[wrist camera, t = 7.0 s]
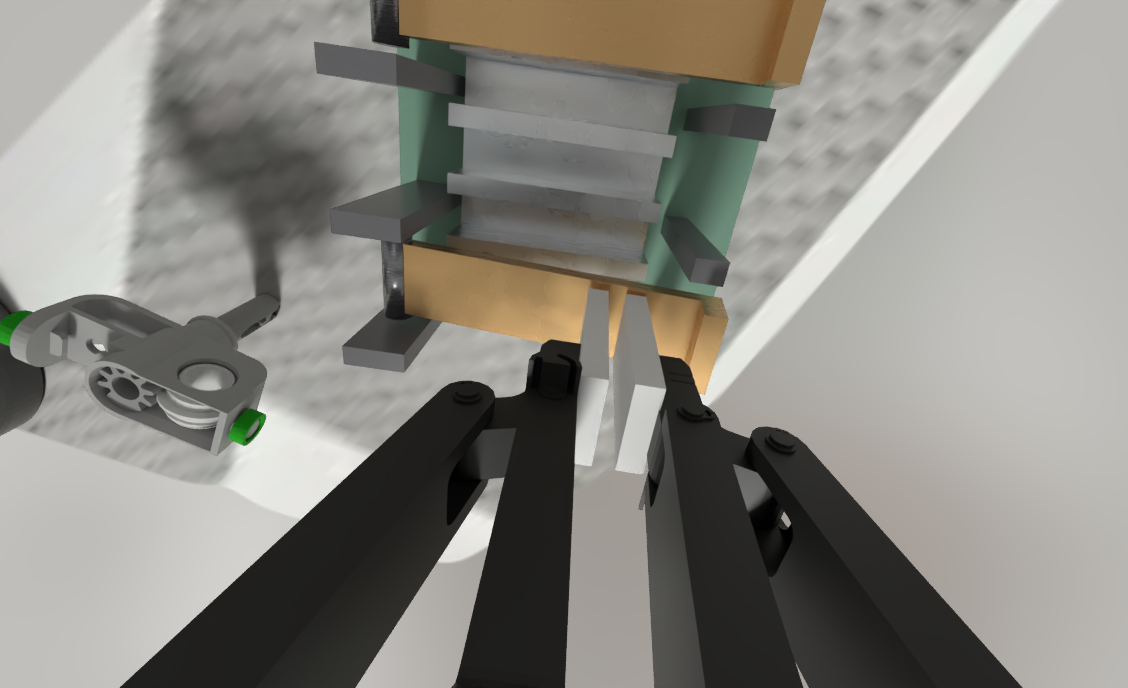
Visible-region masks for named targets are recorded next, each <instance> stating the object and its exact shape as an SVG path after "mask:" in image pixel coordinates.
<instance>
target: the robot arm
mask: <svg viewBox="0 0 1128 688" xmlns="http://www.w3.org/2000/svg"><path fill="white" fill-rule="evenodd" d="M8 315H10V314H9V313H8V312H7V311H6V309H5V308H4V307H3V306H2V305H1V304H0V322H1V321H2V320H3V319H4V318H6V317H7V316H8ZM608 383H609V291H605V290H598V289H592V288H588V294H587V300H586V306H585V312H584V318H583V324H582V330H581V336H580V342H579V343H573V342H566V341H560V340H553V339H550V340H548V341H547V342H546V343H544V344H543V345H542V347H541V350H540V352H538V353H536V354H534V355H532V356H531V358H530V359H529V365H528V374H527V383H526V390H525V392H523V393H521V394H519V395H516V396H512V397H503V398H495V395H494V391H493V390H492V389H491V388H490V387H489V386H487V385H485V384H482V383H480V382H474V381H458V382H454V383H451V384H449V385H447V386H445V387H444V388H442V389H441V390H440V391H439V392H438V393H437V394H436V395H435V396H434V397H433V398H432V399H430V400H429V401H428V402H427V403H426V404H425V405H424V406H423V407H422V408H421V409H420V410H419V411H417V412H416V413H415V414H414V415H413V416H412V417H411V418H410V419H409V420H408V421H407V422H406V423H405V424H403V425H402V426H401V427H400V428H399V429H398V430H397V431H396V432H395V433H394V434H393V435H392V436H391V437H389V438H388V439H387V440H386V441H385V442H384V443H383V444H382V445H381V446H380V447H379V448H378V449H377V450H375V451H374V452H373V453H372V454H371V455H370V456H369V457H368V458H367V459H366V460H365V461H364V462H362V463H361V464H360V465H359V466H358V467H357V468H356V469H355V470H354V471H353V472H352V473H351V474H350V475H348V476H347V477H346V478H345V479H344V480H343V481H342V482H341V483H340V484H339V485H338V486H337V487H336V488H334V489H333V490H332V491H331V492H330V493H329V494H328V495H327V496H326V497H325V498H324V499H323V500H322V501H320V502H319V503H318V504H317V505H316V506H315V507H314V508H313V509H312V510H311V511H310V512H309V513H307V514H306V515H305V516H304V517H303V518H302V519H301V520H300V521H299V522H298V523H297V524H296V525H295V526H293V527H292V528H291V529H290V530H289V531H288V532H287V533H286V534H285V535H284V536H283V537H282V538H281V539H279V540H278V541H277V542H276V543H275V544H274V545H273V546H272V547H271V548H270V549H269V550H268V551H267V552H265V553H264V554H263V555H262V556H261V557H260V558H259V559H258V560H257V561H256V562H255V563H254V564H253V565H252V566H250V567H249V568H248V569H247V570H246V571H245V572H244V573H243V574H242V575H241V576H240V577H239V578H237V579H236V580H235V581H234V582H233V583H232V584H231V585H230V586H229V587H228V588H227V589H226V590H224V591H223V592H222V593H221V594H220V595H219V596H218V597H217V598H216V599H215V600H214V601H213V602H212V603H210V604H209V605H208V606H207V607H206V608H205V609H204V610H203V611H202V612H201V613H200V614H199V615H198V616H196V617H195V618H194V619H193V620H192V621H191V622H190V623H189V624H188V625H187V626H186V627H185V628H183V629H182V630H181V631H180V632H179V633H178V634H177V635H176V636H175V637H174V638H173V639H172V640H171V641H169V642H168V643H167V644H166V645H165V646H164V647H163V648H162V649H161V650H160V651H159V652H158V653H157V654H155V656H153V657H152V658H151V659H150V660H149V661H148V662H147V663H146V664H145V665H144V666H143V667H141V668H140V669H139V670H138V671H137V672H136V673H135V674H134V675H133V676H132V677H131V678H130V679H129V680H127V681H126V682H125V683H124V684H123V685H122V686H121V687H120V688H355V687H356V686H357V684H358V683H359V681H360V680H361V678H362V677H363V675H364V674H365V672H366V670H367V669H368V667H369V666H370V664H371V663H372V661H373V660H374V658H375V657H376V655H377V653H378V652H379V650H380V649H381V647H382V646H383V644H384V643H385V641H386V640H387V638H388V637H389V635H390V634H391V632H392V630H393V629H394V627H395V626H396V624H397V622H398V621H399V620H400V618H401V617H402V615H403V614H404V612H405V610H406V609H407V607H408V606H409V604H410V603H411V601H412V600H413V598H414V596H415V595H416V594H417V592H418V590H419V589H420V587H421V586H422V584H423V583H424V581H425V580H426V578H427V577H428V575H429V573H430V572H431V570H432V569H433V567H434V566H435V564H436V563H437V561H438V560H439V558H440V557H441V555H442V554H443V552H444V551H445V549H446V547H447V546H448V544H449V543H450V541H451V540H452V538H453V537H454V535H455V534H456V532H457V531H458V529H459V527H460V526H461V524H462V523H463V521H464V520H465V518H466V517H467V515H468V514H469V512H470V511H471V509H472V507H473V506H474V504H475V503H476V501H477V500H478V498H479V497H480V495H481V494H482V492H483V491H484V489H485V487H486V486H487V483H488V480H489V479H492V478H503V477H505V478H504V483H503V487H502V491H501V495H500V500H499V504H498V508H497V512H496V516H495V521H494V525H493V529H492V533H491V538H490V542H489V546H488V550H487V555H486V559H485V563H484V567H483V571H482V576H481V580H480V584H479V589H478V593H477V597H476V601H475V605H474V610H473V614H472V618H471V622H470V626H469V631H468V635H467V640H466V643H465V648H464V652H463V656H462V660H461V664H460V668H459V672H458V676H457V679H456V683H455V684H454V685H453V686H452V688H565V670H566V648H567V625H568V601H569V579H570V557H571V533H572V510H573V488H574V465H575V464H580V465H586V466H592V461H593V456H594V451H595V446H596V442H597V437H598V432H599V427H600V422H601V417H602V412H603V407H604V402H605V398H606V393H607V388H608ZM613 383H614V432H615V470H617V471H623V472H630V473H636V474H642V475H643V473H644V470H645V466H646V462H647V461H648V469H649V471H648V475H647V479H646V482H645V486H644V490H643V493H642V497H641V500H640V504H639V508H638V509H640V510H643V506H644V504H645V513H646V533H647V552H648V572H649V591H650V611H651V630H652V650H653V670H654V688H803V685H802V682H801V679H800V676H799V673H798V670H797V667H796V664H797V665H798V668H799V670H800V671H801V673H802V675H803V677H804V679H805V681H806V683H807V685H808V687H809V688H1022V687H1021V686H1020V685H1019V683H1018V682H1017V681H1016V680H1015V679H1014V678H1013V677H1012V675H1011V674H1010V673H1009V672H1008V671H1007V670H1006V669H1005V668H1004V666H1003V665H1002V664H1001V663H1000V662H999V661H998V660H997V659H996V657H994V655H993V654H992V653H991V652H990V651H989V650H988V649H987V647H985V645H984V644H983V643H982V642H981V641H980V640H979V638H978V637H977V636H976V635H975V634H974V633H973V632H972V631H971V629H969V627H968V626H967V625H966V624H965V623H964V622H963V621H962V619H961V618H960V617H959V616H958V615H957V614H956V613H955V612H954V610H953V609H952V608H951V607H950V606H949V605H948V604H947V603H946V602H945V600H944V599H943V598H942V597H941V596H940V595H939V594H938V593H937V592H936V590H935V589H934V588H933V587H932V586H931V585H930V584H929V582H927V580H926V579H925V578H924V577H923V576H922V575H921V574H920V572H919V571H918V570H917V569H916V568H915V567H914V566H913V565H912V564H911V562H910V561H909V560H908V559H907V558H906V557H905V556H904V555H903V553H902V552H901V551H900V550H899V549H898V548H897V547H896V545H895V544H894V543H893V542H892V541H891V540H890V539H889V538H888V537H887V536H886V534H884V532H883V531H882V530H881V529H880V528H879V526H877V524H876V523H875V522H874V521H873V520H872V519H871V518H870V516H869V515H868V514H867V513H866V512H865V511H864V510H863V509H862V507H861V506H860V505H859V504H858V503H857V502H856V501H855V500H854V498H853V497H852V496H851V495H850V494H849V493H848V492H847V491H846V489H844V487H843V486H842V485H841V484H840V483H839V482H838V481H837V479H836V478H835V477H834V476H833V475H832V474H831V473H830V472H829V470H828V469H827V468H826V467H825V466H824V465H823V464H822V463H821V461H820V460H819V459H818V458H817V457H816V456H815V455H814V454H813V453H812V451H811V450H810V449H809V448H808V447H807V446H806V445H805V444H804V443H803V442H802V441H801V440H799V439H798V438H797V437H795V436H793V435H792V434H790V433H789V432H787V431H784V430H781V429H778V428H772V427H758V428H756V429H755V430H753V431H752V434H751V437H750V438H747V437H744V436H741V435H738V434H735V433H733V432H730V431H727V430H725V429H723V428H722V427H721V425H720V422H719V419H718V417H717V415H716V414H715V412H713V411H712V410H711V409H710V408H708V407H707V406H705V405H703V404H702V401H701V398H700V395H699V392H698V389H697V386H696V385H695V380H694V378H693V374H692V371H691V368H690V367H689V366H688V365H687V364H686V363H685V362H684V361H683V360H682V359H681V358H676V357H669V356H663V355H659V353H658V348H657V344H656V339H655V335H654V330H653V325H652V321H651V316H650V312H649V307H648V302H647V298H646V297H644V296H637V295H631V294H626V297H625V301H624V306H623V311H622V316H621V321H620V326H619V331H618V336H617V341H616V346H615V351H614V355H613ZM42 396H43V378H42V373H41V369H40V367H35V366H33V365H30V364H28V363H25V362H23V361H21V360H18V359H16V358H15V357H13V356H12V354H11V351H10V347H9V346H7V345H5V344H2V343H0V436H1V435H3V434H5V433H7V432H9V431H11V430H13V429H14V428H16V427H18V426H20V425H22V424H24V423H25V422H27V421H28V420H29V419H30V418H32V416H33V415H34V414H35V413H36V411H37V410H38V408H39V406H40V404H41V401H42ZM783 512H785V513H786V515H787V516H788V518H789V520H790V522H791V525H790V526H789V527H787V526H786V525H785V524H784V522H783V521H782V519H781V517H782V515H783ZM795 662H796V663H795Z"/></svg>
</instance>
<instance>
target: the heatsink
mask: <svg viewBox="0 0 1128 688" xmlns="http://www.w3.org/2000/svg"><path fill="white" fill-rule="evenodd" d="M450 49H452V50H454V51H456V52H458V53H460V54H462V55H464V56H466V81H465V104H456V103H449V115H448V125H451V126H457V127H464V144H463V167H462V168H459V169H456V170H454V171H451V172H448V173H447V193H452V194H459V195H462V207H461V224H460V225H458V226H457V227H456V228H455V229H453V230H452V231H451V232H450V233H448V234H447V235H446V246H449V247H454V248H459V249H464V250H470V251H475V252H480V253H486V254H491V255H496V256H501V257H507V258H512V259H517V260H523V261H528V262H533V263H538V264H544V265H549V266H554V267H560V268H565V269H570V270H575V271H581V272H586V273H591V274H597V275H602V276H607V277H612V278H618V279H623V280H628V281H634V282H636V281H637V280H638V281H645V279H646V274H647V270H648V265H649V264H648V261H647V259H646V256H645V254H644V251H643V248H644V243H645V239H646V234H647V229H648V224H649V222H651V223H658V220H659V215H660V211H661V206H662V204H661V202H660V201H659V200H658V199H657V197H656V196H655V191H656V187H657V182H658V177H659V172H660V168H661V163H662V158H663V157H669V158H672V156H673V151H674V147H675V142H676V138H677V136H673V135H668V130H669V125H670V120H671V116H672V111H673V106H674V101H675V97H676V92H677V88H679V87H681V86H684V85H687V84H688V83H689V79H690V77H683V76H675V75H668V74H661V73H654V72H647V71H639V70H632V69H625V68H618V67H611V66H603V65H596V64H589V63H582V62H575V61H567V60H560V59H553V58H546V57H539V56H531V55H524V54H517V53H510V52H503V51H495V50H488V49H481V48H474V47H467V46H460V45H452V44H450Z"/></svg>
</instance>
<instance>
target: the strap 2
mask: <svg viewBox="0 0 1128 688" xmlns="http://www.w3.org/2000/svg"><path fill="white" fill-rule="evenodd" d="M381 252H382V274H383V296H384V315H385V317H386V318H388V319H392V320H406V319H409V318H411V317H413V315H414V316H419V317H423V318H428V319H433V320H437V321H442V322H447V323H452V324H456V325H461V326H466V327H471V328H475V329H480V330H485V331H490V332H494V333H499V334H504V335H509V336H513V337H518V338H523V339H528V340H532V341H537V342H542V343H546V342H547V341H548V340H550V339H553V340H560V341H566V342H573V343H579V342H580V336H581V330H582V324H583V318H584V312H585V306H586V300H587V294H588V288H592V289H598V290H605V291H609V357H613V355H614V351H615V346H616V341H617V336H618V331H619V326H620V321H621V316H622V311H623V306H624V301H625V297H626V294H631V295H637V296H644V297H646V298H647V302H648V307H649V312H650V316H651V321H652V325H653V330H654V335H655V339H656V344H657V348H658V353H659V355H663V356H669V357H676V358H681V359H682V360H683V361H684V362H685V363H686V364H687V365H688V366H689V367H690V368H691V371H692V374H693V378H694V380H695V385H696V386H697V389H698V392H699V393H700V394H704V395H705V392H706V389H707V386H708V382H709V379H710V376H711V373H712V370H713V367H714V364H715V360H716V357H717V354H718V351H719V348H720V345H721V341H722V338H723V335H724V332H725V329H726V326H727V323H728V316H727V313H726V310H725V307H724V304H723V301H722V298H718V297H713V296H708V295H702V294H697V293H692V292H686V291H681V290H676V289H671V288H665V287H660V286H655V285H649V284H644V283H639V282H634V281H628V280H623V279H618V278H612V277H607V276H602V275H597V274H591V273H586V272H581V271H575V270H570V269H565V268H560V267H554V266H549V265H544V264H538V263H533V262H528V261H523V260H517V259H512V258H507V257H501V256H496V255H491V254H486V253H480V252H475V251H470V250H464V249H459V248H454V247H449V246H443V245H438V244H433V243H427V242H422V241H417V240H412V236H411V237H409V238H408V239H406V240H405V241H403V242H402V243H397V242H390V241H383V240H381Z"/></svg>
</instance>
